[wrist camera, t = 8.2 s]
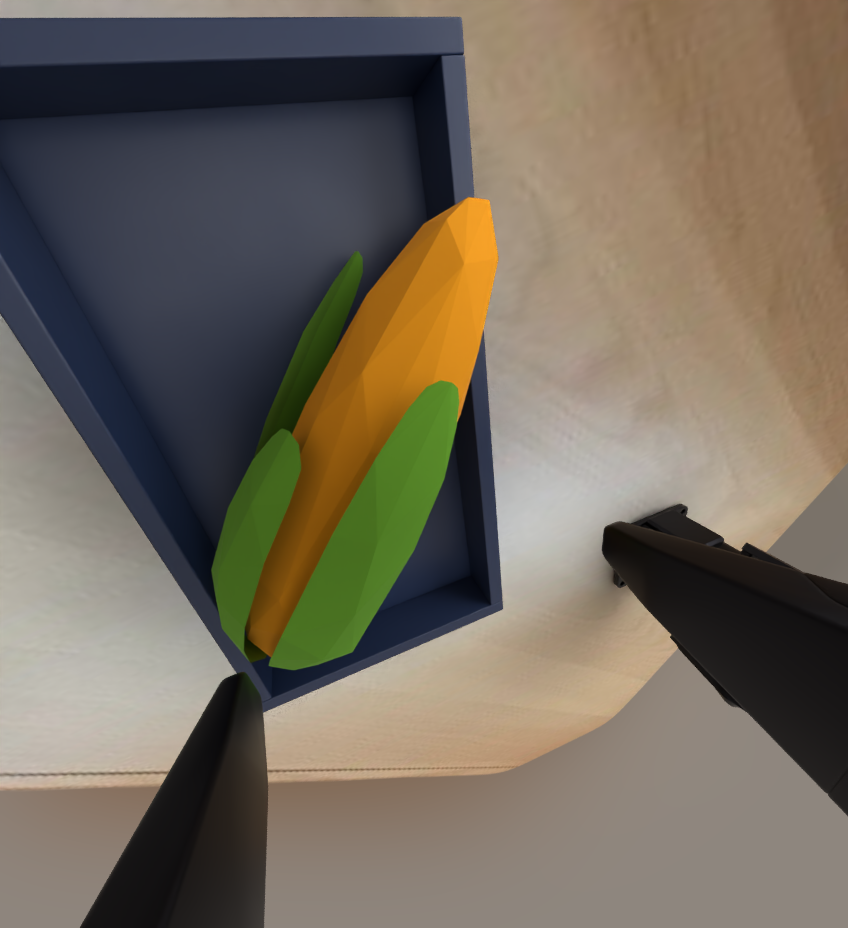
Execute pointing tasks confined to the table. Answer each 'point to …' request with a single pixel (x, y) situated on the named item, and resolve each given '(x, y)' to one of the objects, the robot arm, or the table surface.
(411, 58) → the tray
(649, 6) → the table surface
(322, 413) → the corn
